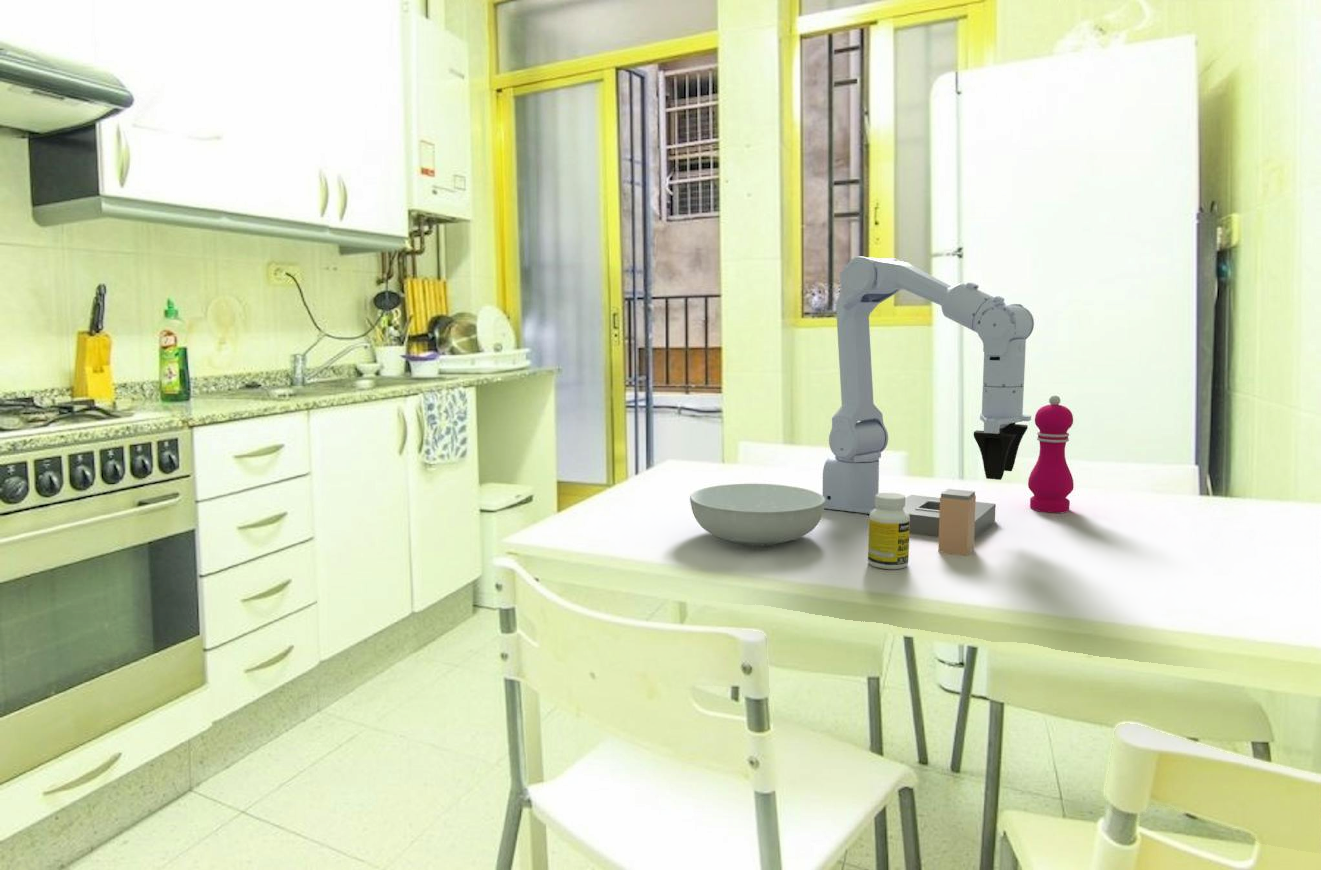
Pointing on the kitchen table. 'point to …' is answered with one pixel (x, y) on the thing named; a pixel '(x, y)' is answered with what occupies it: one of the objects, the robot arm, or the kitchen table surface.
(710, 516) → the serving bowl
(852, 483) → the robot arm
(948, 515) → the plug
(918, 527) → the socket block
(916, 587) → the kitchen table surface
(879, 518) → the supplement bottle
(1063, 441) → the pepper mill
